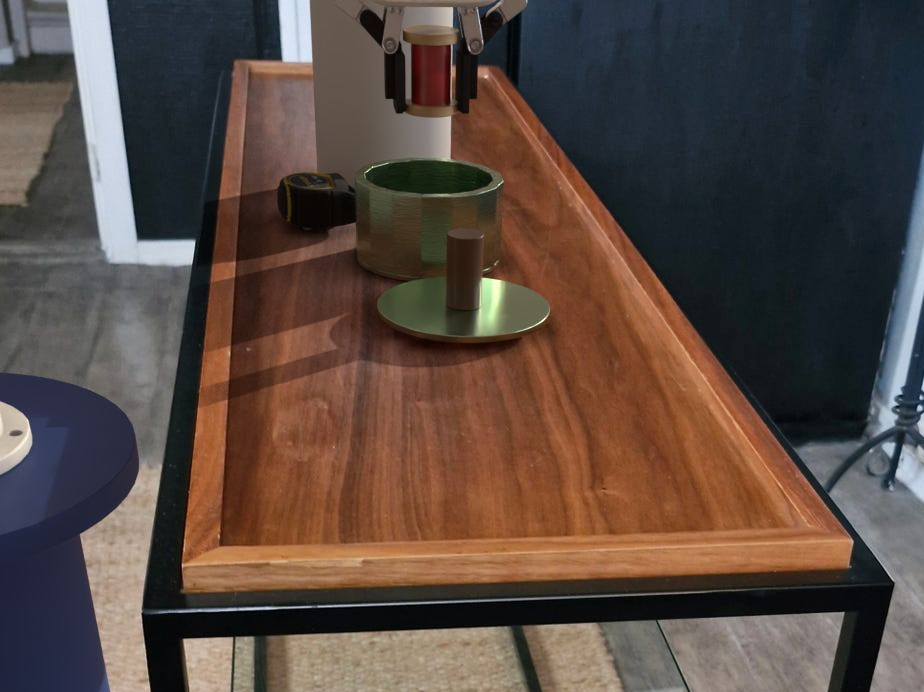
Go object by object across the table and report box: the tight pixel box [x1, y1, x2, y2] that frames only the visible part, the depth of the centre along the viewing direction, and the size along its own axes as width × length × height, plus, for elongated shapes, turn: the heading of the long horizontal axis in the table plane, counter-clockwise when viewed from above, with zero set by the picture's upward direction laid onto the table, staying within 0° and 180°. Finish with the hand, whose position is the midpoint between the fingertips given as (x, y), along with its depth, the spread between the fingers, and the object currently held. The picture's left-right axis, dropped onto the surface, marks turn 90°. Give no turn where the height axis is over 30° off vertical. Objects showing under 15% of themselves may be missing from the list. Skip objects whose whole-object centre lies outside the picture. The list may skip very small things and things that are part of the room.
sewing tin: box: [354, 158, 505, 282], centre depth 98 cm, size 12×12×6 cm
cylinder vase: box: [309, 0, 454, 189], centre depth 108 cm, size 12×12×25 cm
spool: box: [403, 25, 461, 118], centre depth 92 cm, size 4×4×6 cm
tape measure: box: [276, 171, 356, 231], centre depth 105 cm, size 7×7×4 cm
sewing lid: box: [376, 228, 551, 344], centre depth 88 cm, size 13×13×6 cm
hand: (430, 107), depth 93 cm, fingers closed on spool, 4 cm apart
